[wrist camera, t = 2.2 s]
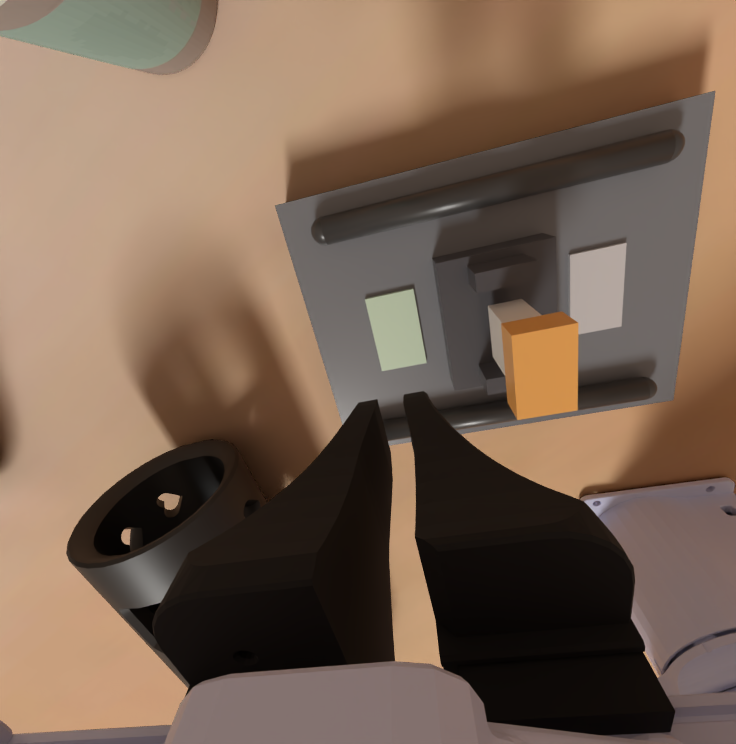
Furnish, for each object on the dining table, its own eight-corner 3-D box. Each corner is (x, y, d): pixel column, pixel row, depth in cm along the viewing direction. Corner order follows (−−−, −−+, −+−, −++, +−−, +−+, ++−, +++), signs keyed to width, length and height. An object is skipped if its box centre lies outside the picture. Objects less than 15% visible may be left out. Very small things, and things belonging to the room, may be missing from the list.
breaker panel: (679, 101, 16) (794, 67, 12) (650, 383, 22) (718, 434, 17) (285, 203, 19) (252, 208, 14) (353, 432, 25) (345, 488, 20)
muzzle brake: (267, 414, 24) (194, 553, 15) (385, 654, 36) (384, 817, 27) (143, 445, 26) (8, 588, 17) (293, 665, 38) (262, 822, 28)
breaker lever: (528, 287, 16) (578, 322, 11) (531, 357, 17) (577, 410, 13) (479, 298, 16) (511, 335, 12) (486, 365, 17) (517, 420, 13)
